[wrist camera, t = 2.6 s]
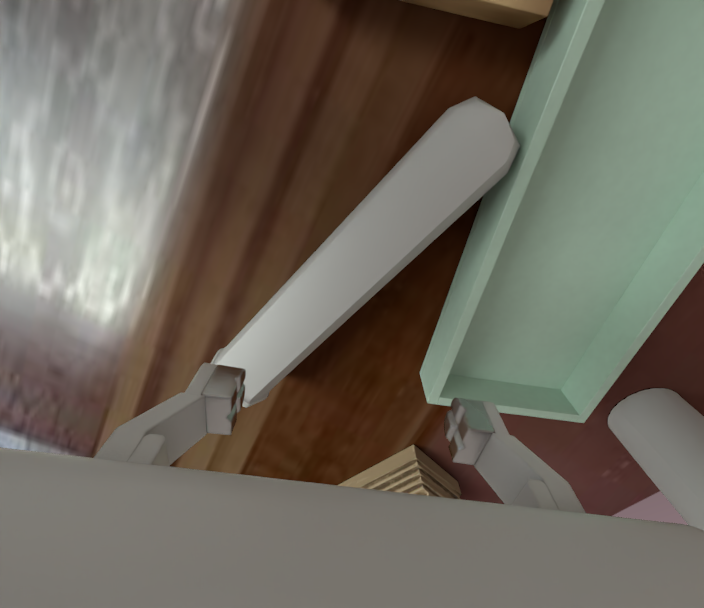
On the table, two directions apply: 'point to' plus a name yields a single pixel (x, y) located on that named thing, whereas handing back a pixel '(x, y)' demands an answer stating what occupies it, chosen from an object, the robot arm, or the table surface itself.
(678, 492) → the bottle
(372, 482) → the banker's lamp
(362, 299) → the tube
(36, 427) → the table surface
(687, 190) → the green tray
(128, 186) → the table surface
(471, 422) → the robot arm
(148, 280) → the table surface
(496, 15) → the panel
